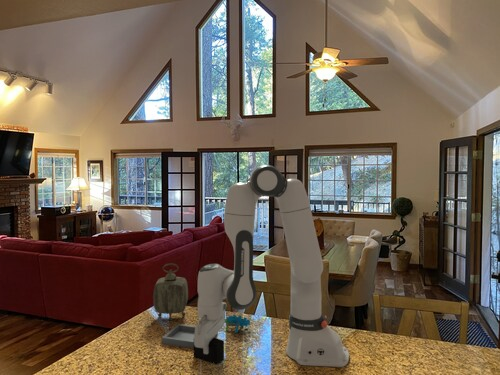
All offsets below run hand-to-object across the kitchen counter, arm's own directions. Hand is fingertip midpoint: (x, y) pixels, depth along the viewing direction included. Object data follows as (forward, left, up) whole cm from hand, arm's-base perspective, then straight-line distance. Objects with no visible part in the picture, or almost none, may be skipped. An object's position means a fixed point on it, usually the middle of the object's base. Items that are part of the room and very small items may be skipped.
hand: (210, 348), depth 134 cm
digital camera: (0, 0, -3) cm, 3 cm away
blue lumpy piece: (-2, -24, -3) cm, 25 cm away
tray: (+14, -11, -3) cm, 18 cm away
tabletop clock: (+30, -27, -3) cm, 40 cm away
